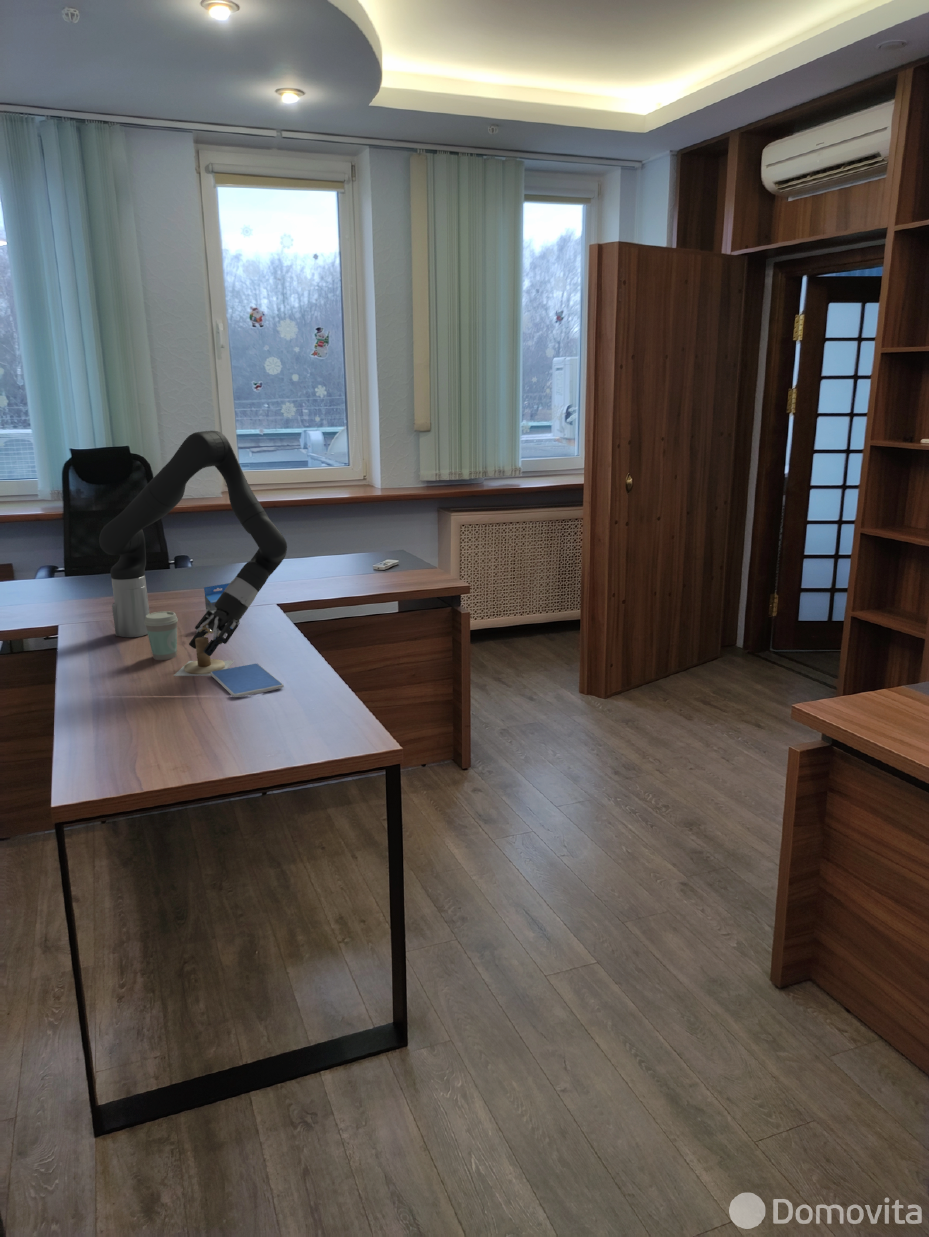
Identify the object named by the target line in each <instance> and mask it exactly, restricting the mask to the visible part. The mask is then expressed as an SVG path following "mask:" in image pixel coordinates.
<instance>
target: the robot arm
mask: <svg viewBox="0 0 929 1237" xmlns="http://www.w3.org/2000/svg"><path fill="white" fill-rule="evenodd" d="M210 467H215V468H216V469H217V471H218V472H219V473H220V475H221V476H222V478H223V480H224V481H225V484H226V487H227V491H228V499H229V504H230V506H231V509H232V511H233V513H234V515H235V517H236V519H238V521H239V523H240V524H241V526H242V527H243V529H244V530H245V532H246V533H247V534H249V535H250V536H251V537H252V539H253V540H254V542H255V543H256V545H257V546H258V550H257V551H256V552H255V554H254V555H253V556H252V558H251V559H250V560H249V561H247V562H246V563H245V564H244V565H243V566H242V568H241V569H240V570H239V571H238V573H237V575H236V576H235V577H233V579H232V581H231V582H229V583H230V584H229V585H228V586H227V588H226V589H225V590H224V592H223V593H222V594H221V596H220V597H219V598H218V600H217V601H216V603H215V604H214V606H215V607H216V608H217V610H216V611H215V612H214V613H212V612H211V611H210V610H208V611H207V612H206V611H205V613H204V615H203V616H202V617H201V619H200V620H199V621H198V622H197V624H196V625H195V626H194V629H195V630H196V633H195V635H193V637H192V638H191V640H190V641H189V642H188V645H189V646H190V647H191V648H192V649H194V650H196V643H195V639H196V638H199V637H206V636H208V635H209V634H213V636H212V639H210V640H209V643H208V645H207V646H206V648H205V649H204V650H203V652H204V653H205V654H207V655H208V656H210V657H211V656H212V655H214V652H215V651H216V649H218V647H219V645H222V644H224V645H226V644H227V643H228V642H229V640H230V639H231V637H232V636H233V635H234V632H236V630H237V629H238V627H239V624H237V623H236V622H234V621H239V622H240V620H241V619H242V617H243V616H244V614H245V613H246V612H247V611H248V609H249V608H250V606H251V605H252V604H253V603H254V601H255V599H256V597H257V595H258V593H260V591H261V590H262V588H263V586H264V585H265V584H266V583H267V581H268V580H269V578H270V576H272V574H273V573H274V572H275V571H276V570H277V568H278V567H279V566H280V564H282V562H283V561H284V559H285V558H286V556H287V550H288V543H287V541H286V539H285V536H284V535H283V534H282V533H281V531H280V530H279V529H278V527H277V526H276V525H275V524H274V522H272V520H271V519H270V518H269V516H268V514H267V512H266V511H265V509H264V508H263V506H262V504H261V502H260V501H259V500H258V498H257V496H256V495H255V493H254V492H253V490H252V488H251V486H250V485H249V482H248V481H247V480H248V479H247V478H246V476H245V474H244V471H243V469H242V467H241V465H240V462H239V460H238V458H237V456H236V454H235V451H234V449H233V447H232V445H231V443H230V442H229V440H228V438H227V437H226V435H225V434H223V433H222V432H220V431H218V430H205V431H196V432H193V433H191V434H190V435H188V436H187V437H186V439H184V441H183V442H182V444H180V446H179V447H178V449H177V450H176V451H175V453H174V454H173V456H172V457H171V458H170V459H169V461H168V462H167V463H166V464H165V465H164V466H163V467H162V468H161V469H160V470H159V472H158V473H157V474H156V475H155V476H153V477H152V479H151V480H150V481H148V483H146V485H145V486H144V487H143V489H141V491H140V492H139V493H138V494H137V495H136V496H135V497H134V498H133V499H132V501H130V502H129V503H128V505H126V507H125V508H124V509H123V510H122V511H121V512H120V513H119V514H117V516H115V517H114V518H112V520H110V521H108V522H107V524H104V526H103V527H102V529H101V531H100V533H99V538H98V541H99V542H98V543H99V546H100V548H101V550H102V551H103V552H105V554H108V555H111V556H119V559H118V561H116V563H115V564H114V565H113V566H111V568H110V578H111V586H112V593H113V601H114V603H112V604H111V609H112V616H113V625H114V626H113V627H114V633H115V634H114V635H115V637H121V638H137V637H143V636H145V635H147V636H148V633H147V629H146V625H145V624H144V623H145V622H144V621H145V617H146V615H148V614H150V606H149V597H148V590H147V588H148V587H147V581H146V573H145V572H146V570H145V569H146V567H147V552H146V539H145V533H144V531H143V529H145V528H146V527H149V526H150V525H152V524H154V523H156V522H157V521H159V520H161V519H163V517H165V516H166V515H168V514H169V513H170V512H171V511H172V510H173V509H174V508H175V507H177V505H178V504H179V503H180V502H181V500H182V499H183V497H184V495H185V490H186V486H187V483H188V482H189V481H190V480H191V478H192V477H194V476H195V474H197V473H199V471H201V470H202V469H206V468H210ZM233 620H234V621H233Z"/></svg>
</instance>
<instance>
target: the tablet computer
mask: <svg viewBox="0 0 929 1237" xmlns="http://www.w3.org/2000/svg"><path fill="white" fill-rule="evenodd" d="M210 675H211V676H210V677H212V678H214V680H215V681H216V682H218V683H219V685H220V686H222V687H223V688H224V689H225V690H226V691H227V692H228V693H229V694H230V695H231V697H233V698H240V697H245V696H252V695H257V694H261V693H266V692H270V691H275V690H280V689H282V688H284V683H282V681H280V680H279V679H277V678H276V677H275V676H274V675H273V674H271V673H270V672H269V671H267V670H266V669H265V668H264V667H262V665H260V664H258V663H251V664H246V665H239V666H235V667H228V668H227V669H223V670H217V671H212V672H211V673H210Z"/></svg>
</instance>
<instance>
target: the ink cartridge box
mask: <svg viewBox="0 0 929 1237" xmlns="http://www.w3.org/2000/svg"><path fill="white" fill-rule="evenodd" d="M230 583H231V582H229V583H222V584H216V585H215V584H214V585H210V586H205V587H203V591H204V601H205V603H204V604H205V605H204V606H205V613H206V612H207V611H208V610H210V611H211V612H212V613H214V612H215V611H216V610H217V608H216V607H215V606H214V604H215V603H216V601H217V600H218V598H219V597H220V596H221V594H222V593H223V592H224V590H225V589H226V588H227V586H228V585H229V584H230ZM217 589H220V590H217ZM233 621H234V620H233ZM234 622H236V623H237V624H238V625H240V622H241V621H240V620H239V621H234Z"/></svg>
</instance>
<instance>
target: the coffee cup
mask: <svg viewBox="0 0 929 1237" xmlns="http://www.w3.org/2000/svg"><path fill="white" fill-rule="evenodd" d="M149 613H150V612H149ZM178 621H179V619H178V617H177V614H176V613H175V612H174V611H169V610H168V611H164V610H163V611H155V612H151V613H150V614H148V615H146V617H145V621H144V622H145V623H144V624H145V625H146V629H147V633H148V634H147V638H148V641H149V644H150V649H151V654H152V657H153V659H154V660H156V661H168V660H172V659H175V658H176V657H177V656H178V655H177V654H178V653H177V652H178V645H177V644H178Z"/></svg>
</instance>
